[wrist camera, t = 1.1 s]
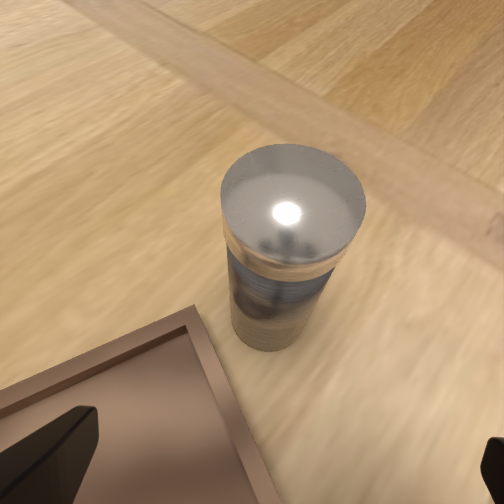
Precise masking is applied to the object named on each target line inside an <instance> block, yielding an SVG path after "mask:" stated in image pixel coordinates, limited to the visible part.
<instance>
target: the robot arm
mask: <svg viewBox="0 0 504 504" xmlns="http://www.w3.org/2000/svg"><path fill="white" fill-rule="evenodd" d="M98 441H99V424H98V411H97V408H96V407H95V406H87V405H78V406H75V407H74V408H72V409H70V410H69V411H67V412H65V413H64V414H62V415H61V416H59V417H57V418H56V419H54V420H52V421H51V422H49V423H47V424H46V425H44V426H43V427H41V428H39V429H38V430H36V431H34V432H33V433H31V434H29V435H28V436H26V437H25V438H23V439H21V440H20V441H18V442H16V443H15V444H13V445H11V446H10V447H8V448H7V449H5V450H3V451H2V452H0V504H73V502H74V500H75V497H76V495H77V493H78V490H79V488H80V485H81V483H82V481H83V478H84V476H85V474H86V471H87V469H88V467H89V464H90V462H91V459H92V457H93V455H94V452H95V450H96V448H97V445H98ZM480 469H481V474H482V477H483V480H484V482H485V484H486V486H487V488H488V490H489V492H490V494H491V496H492V498H493V501H494V503H495V504H504V438H502V437H491V438H490V439H489V440H488V442H487V445H486V448H485V451H484V455H483V458H482V461H481V465H480Z"/></svg>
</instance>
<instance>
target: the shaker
mask: <svg viewBox="0 0 504 504" xmlns="http://www.w3.org/2000/svg"><path fill="white" fill-rule="evenodd" d="M221 208H222V221H223V232H224V237H225V240H226V244H227V259H228V274H229V289H230V304H231V318H232V324H233V327H234V330H235V332H236V334H237V335H238V337H239V338H240V339H241V340H242V341H243V342H244V343H245V344H247V345H248V346H250V347H252V348H254V349H256V350H260V351H266V352H272V351H278V350H281V349H284V348H286V347H287V346H289V345H290V344H292V343H293V342H294V341H295V340H296V339H297V337H298V336H299V334H300V332H301V330H302V328H303V327H304V325H305V323H306V321H307V319H308V317H309V315H310V313H311V311H312V310H313V308H314V306H315V304H316V302H317V300H318V298H319V296H320V295H321V293H322V291H323V289H324V287H325V285H326V283H327V281H328V280H329V278H330V276H331V274H332V272H333V270H334V268H335V266H336V265H337V264H338V263H339V262H340V261H341V259H342V258H343V256H344V255H345V253H346V251H347V249H348V248H349V246H350V244H351V242H352V240H353V239H354V237H355V235H356V233H357V231H358V229H359V228H360V226H361V224H362V221H363V219H364V216H365V211H366V198H365V194H364V190H363V188H362V185H361V183H360V182H359V180H358V178H357V177H356V175H355V174H354V173H353V172H352V171H351V170H350V169H349V168H348V167H347V166H346V165H345V164H344V163H343V162H341V161H340V160H339V159H337V158H335V157H334V156H332V155H330V154H328V153H326V152H324V151H321V150H319V149H316V148H312V147H309V146H304V145H297V144H275V145H269V146H265V147H261V148H258V149H255V150H253V151H251V152H249V153H247V154H245V155H244V156H242V157H241V158H239V159H238V160H237V161H236V162H235V163H234V164H233V165H232V166H231V167H230V168H229V170H228V171H227V173H226V175H225V177H224V179H223V182H222V186H221Z"/></svg>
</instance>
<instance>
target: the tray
mask: <svg viewBox="0 0 504 504" xmlns="http://www.w3.org/2000/svg"><path fill="white" fill-rule="evenodd" d="M78 405H87V406H95V407H96V408H97V411H98V424H99V441H98V445H97V448H96V450H95V452H94V455H93V457H92V459H91V462H90V464H89V467H88V469H87V471H86V474H85V476H84V478H83V481H82V483H81V485H80V488H79V490H78V493H77V495H76V497H75V500H74V502H73V504H282V502H281V499H280V497H279V495H278V493H277V490H276V488H275V486H274V484H273V481H272V479H271V477H270V475H269V472H268V470H267V468H266V465H265V463H264V461H263V459H262V456H261V454H260V452H259V450H258V447H257V445H256V443H255V441H254V438H253V436H252V434H251V432H250V429H249V427H248V425H247V422H246V420H245V418H244V416H243V413H242V411H241V409H240V407H239V404H238V402H237V400H236V398H235V395H234V393H233V391H232V389H231V386H230V384H229V382H228V379H227V377H226V375H225V373H224V370H223V368H222V366H221V364H220V361H219V359H218V357H217V355H216V352H215V350H214V348H213V345H212V343H211V341H210V339H209V336H208V334H207V332H206V330H205V327H204V325H203V323H202V321H201V318H200V316H199V314H198V312H197V309H196V307H195V305H192V306H189V307H187V308H185V309H183V310H180V311H178V312H176V313H174V314H171V315H169V316H167V317H165V318H162V319H160V320H158V321H156V322H153V323H151V324H149V325H147V326H144V327H142V328H140V329H138V330H135V331H133V332H131V333H129V334H126V335H124V336H122V337H120V338H117V339H115V340H113V341H111V342H108V343H106V344H104V345H102V346H99V347H97V348H95V349H93V350H90V351H88V352H86V353H84V354H81V355H79V356H77V357H75V358H72V359H70V360H68V361H66V362H63V363H61V364H59V365H57V366H54V367H52V368H50V369H48V370H45V371H43V372H41V373H38V374H36V375H34V376H32V377H29V378H27V379H25V380H23V381H20V382H18V383H16V384H14V385H11V386H9V387H7V388H5V389H2V390H0V452H2V451H3V450H5V449H7V448H8V447H10V446H11V445H13V444H15V443H16V442H18V441H20V440H21V439H23V438H25V437H26V436H28V435H29V434H31V433H33V432H34V431H36V430H38V429H39V428H41V427H43V426H44V425H46V424H47V423H49V422H51V421H52V420H54V419H56V418H57V417H59V416H61V415H62V414H64V413H65V412H67V411H69V410H70V409H72V408H74V407H75V406H78Z"/></svg>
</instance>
